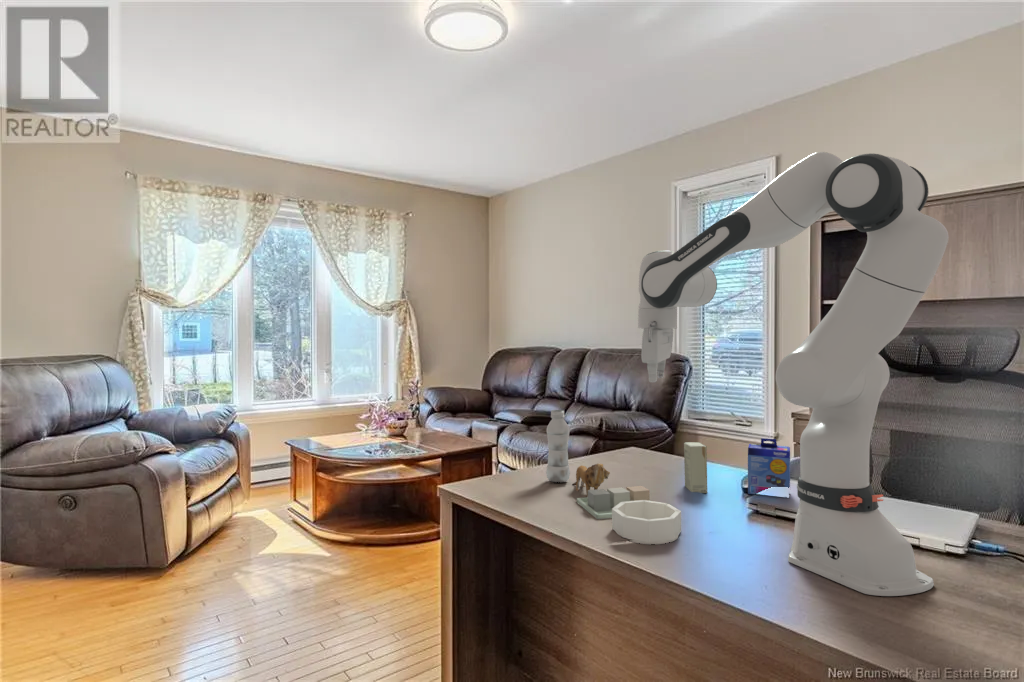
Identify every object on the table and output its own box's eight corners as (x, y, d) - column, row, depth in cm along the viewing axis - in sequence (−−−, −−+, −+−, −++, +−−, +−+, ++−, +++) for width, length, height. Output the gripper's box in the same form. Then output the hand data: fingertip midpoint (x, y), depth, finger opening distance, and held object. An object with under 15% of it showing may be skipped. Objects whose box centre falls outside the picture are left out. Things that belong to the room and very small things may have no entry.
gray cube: (610, 510, 131) (610, 493, 131) (594, 512, 130) (593, 495, 130) (603, 505, 135) (603, 488, 135) (587, 507, 134) (587, 490, 134)
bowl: (691, 540, 113) (691, 516, 113) (631, 547, 110) (631, 523, 110) (659, 519, 126) (659, 498, 126) (604, 525, 123) (604, 503, 123)
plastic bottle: (554, 477, 163) (553, 408, 163) (574, 481, 159) (573, 410, 159) (541, 482, 158) (541, 411, 158) (562, 486, 154) (562, 413, 154)
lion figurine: (612, 499, 141) (612, 464, 141) (595, 503, 139) (594, 466, 139) (580, 485, 154) (579, 453, 154) (563, 488, 152) (563, 455, 152)
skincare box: (708, 493, 145) (707, 446, 145) (691, 493, 145) (690, 446, 145) (700, 486, 152) (699, 441, 152) (683, 487, 152) (683, 441, 152)
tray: (663, 514, 129) (663, 508, 129) (597, 521, 125) (597, 515, 125) (637, 498, 142) (637, 492, 142) (576, 503, 138) (576, 498, 138)
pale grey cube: (630, 508, 132) (629, 491, 132) (614, 510, 131) (614, 493, 131) (622, 503, 136) (622, 487, 136) (607, 505, 135) (607, 488, 135)
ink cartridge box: (747, 494, 144) (747, 438, 144) (748, 489, 149) (748, 434, 149) (790, 499, 140) (790, 440, 140) (790, 493, 145) (790, 437, 145)
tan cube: (649, 507, 133) (649, 490, 133) (634, 508, 133) (633, 491, 132) (641, 502, 137) (641, 485, 137) (626, 503, 136) (626, 487, 136)
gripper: (664, 321, 122) (663, 385, 122) (677, 321, 141) (676, 376, 141) (634, 321, 124) (634, 384, 125) (651, 320, 143) (650, 375, 144)
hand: (656, 380), depth 133 cm, fingers open, 8 cm apart
